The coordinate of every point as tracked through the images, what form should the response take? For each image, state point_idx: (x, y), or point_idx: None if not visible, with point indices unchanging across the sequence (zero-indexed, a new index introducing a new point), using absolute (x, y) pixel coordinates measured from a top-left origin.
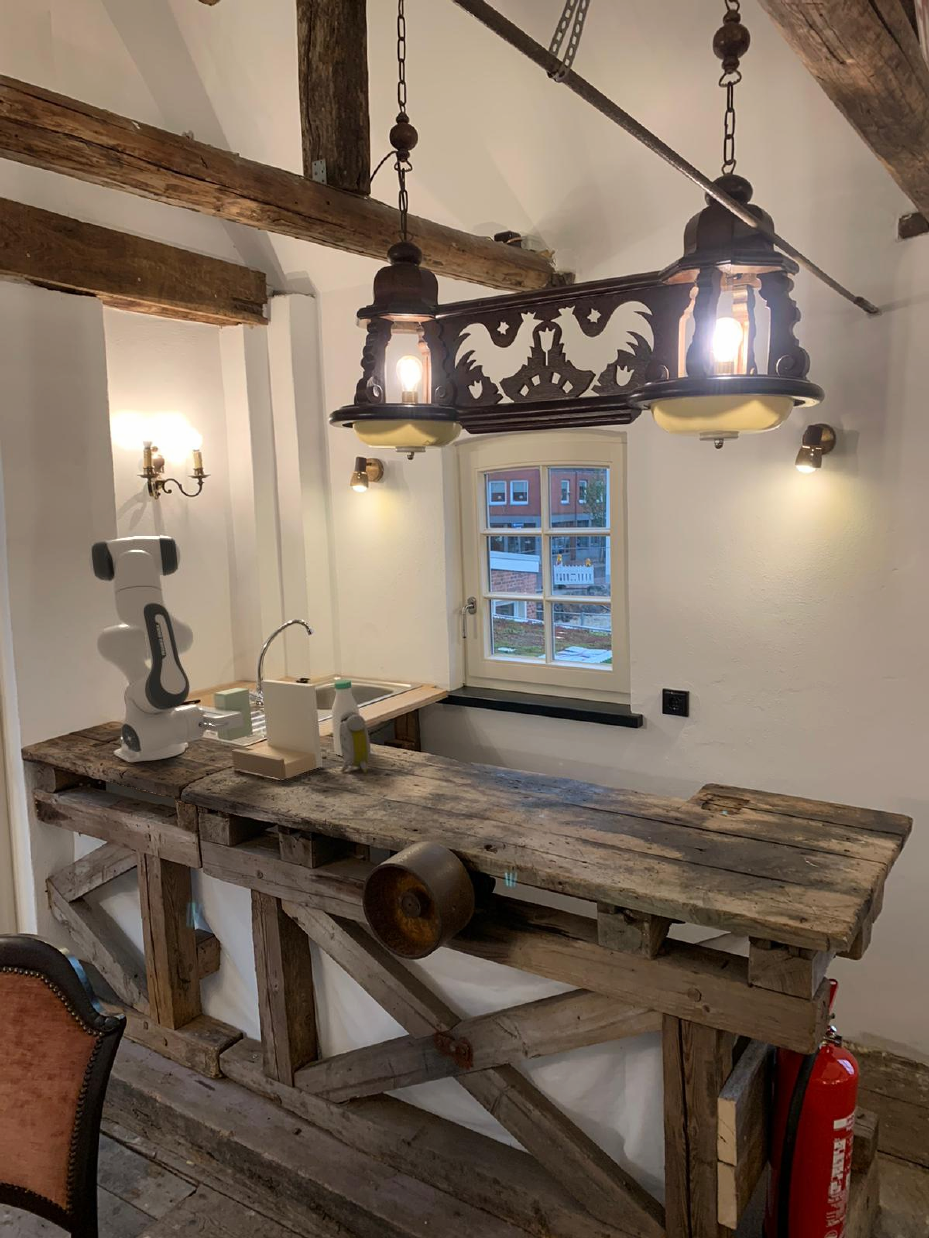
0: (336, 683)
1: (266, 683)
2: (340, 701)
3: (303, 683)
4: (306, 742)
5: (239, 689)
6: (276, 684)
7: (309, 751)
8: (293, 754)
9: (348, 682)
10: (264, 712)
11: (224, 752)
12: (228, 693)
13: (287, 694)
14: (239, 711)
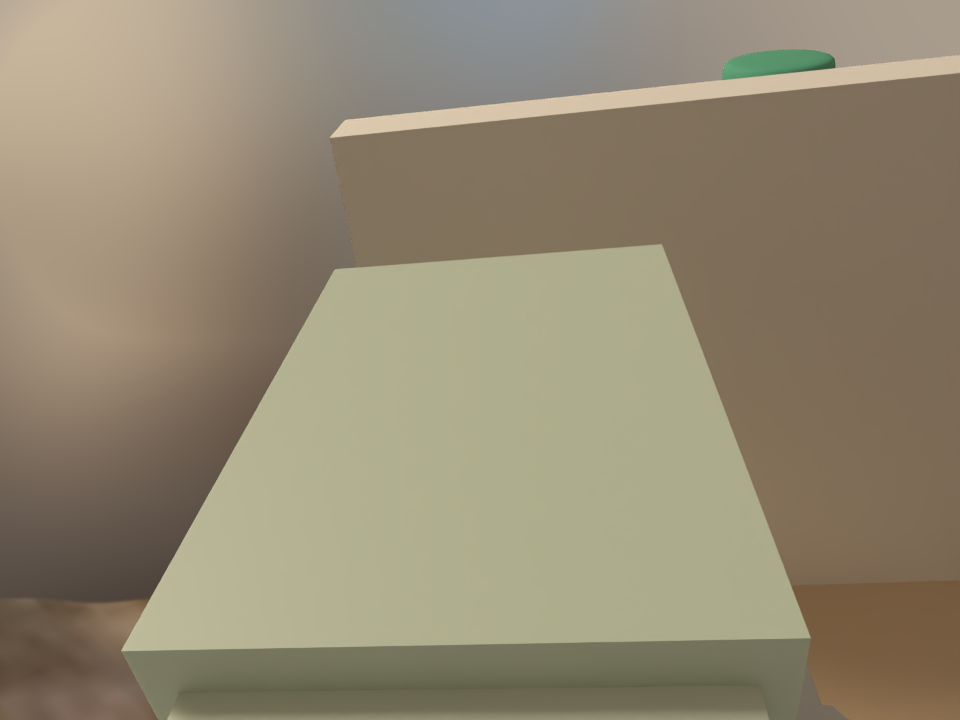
0: (785, 68)
1: (413, 150)
2: None
3: (900, 61)
4: (891, 527)
5: (519, 292)
6: (574, 133)
7: (906, 573)
8: (843, 650)
9: (826, 53)
10: None
11: (9, 702)
12: (714, 517)
13: (736, 204)
14: (834, 716)
